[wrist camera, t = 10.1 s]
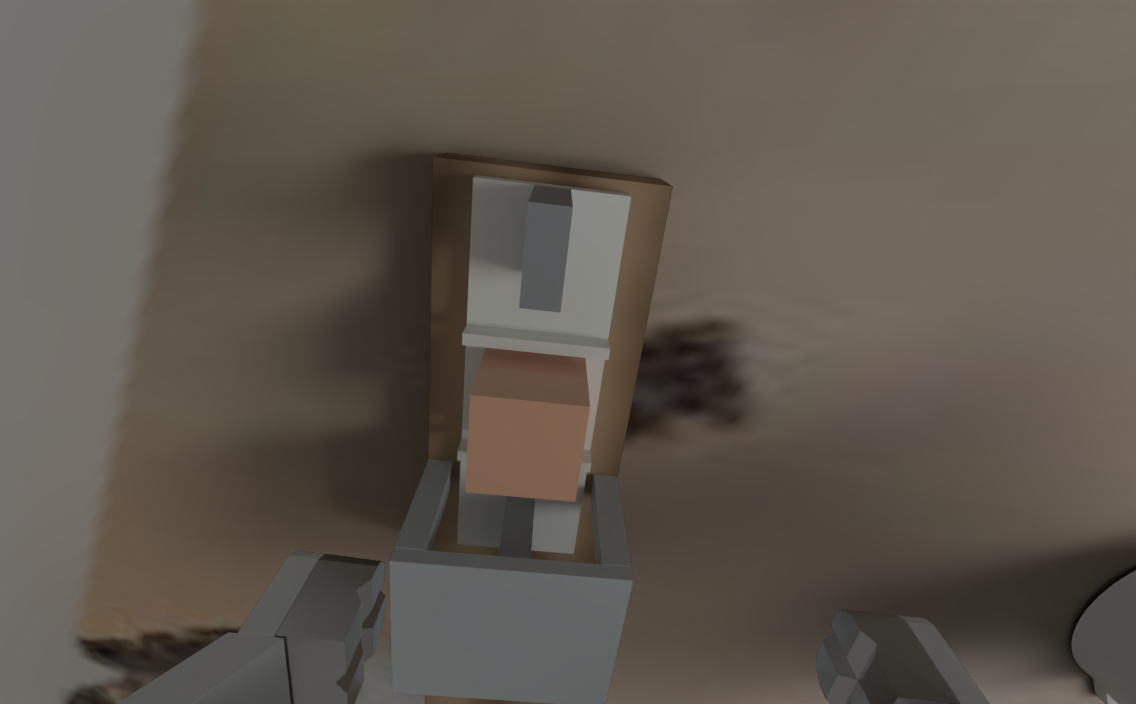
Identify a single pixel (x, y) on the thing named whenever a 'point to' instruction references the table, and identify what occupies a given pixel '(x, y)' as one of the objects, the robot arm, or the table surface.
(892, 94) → the table surface
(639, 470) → the table surface
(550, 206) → the sled
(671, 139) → the table surface
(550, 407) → the block
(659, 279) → the table surface
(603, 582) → the tunnel
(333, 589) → the robot arm
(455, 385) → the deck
